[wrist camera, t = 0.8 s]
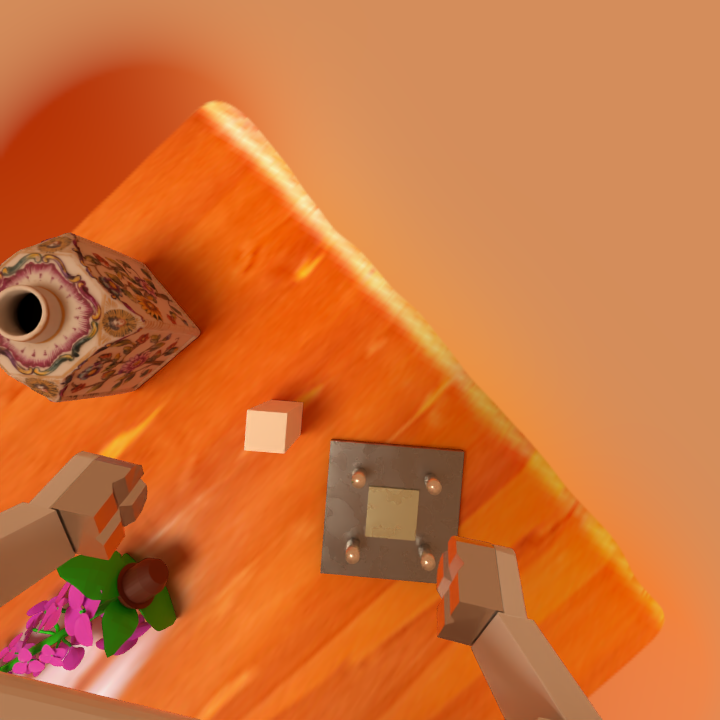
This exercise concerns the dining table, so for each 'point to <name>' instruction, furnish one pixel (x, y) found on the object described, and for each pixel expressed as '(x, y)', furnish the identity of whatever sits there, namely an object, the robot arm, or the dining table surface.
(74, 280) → the decorative jar
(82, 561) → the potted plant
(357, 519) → the grey square base plate
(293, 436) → the post
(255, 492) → the dining table surface
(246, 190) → the dining table surface
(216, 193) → the dining table surface
